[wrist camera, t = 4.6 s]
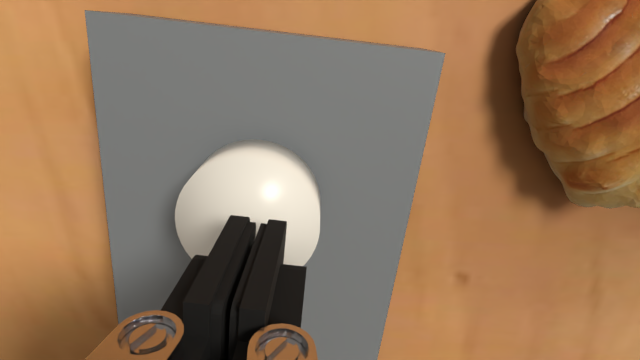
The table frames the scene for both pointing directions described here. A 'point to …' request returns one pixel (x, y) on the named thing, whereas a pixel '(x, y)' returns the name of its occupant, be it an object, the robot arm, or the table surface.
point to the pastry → (585, 95)
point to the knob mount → (270, 125)
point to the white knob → (250, 197)
